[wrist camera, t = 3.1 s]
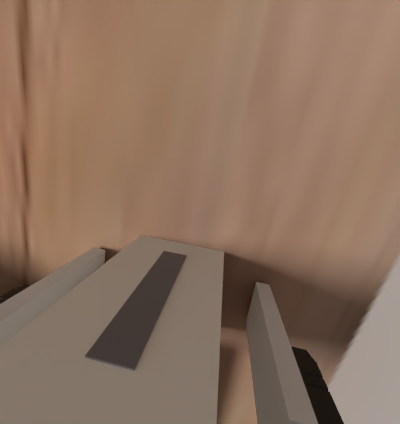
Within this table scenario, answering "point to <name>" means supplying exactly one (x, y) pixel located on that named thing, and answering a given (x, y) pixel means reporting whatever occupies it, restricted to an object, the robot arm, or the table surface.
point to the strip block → (123, 344)
